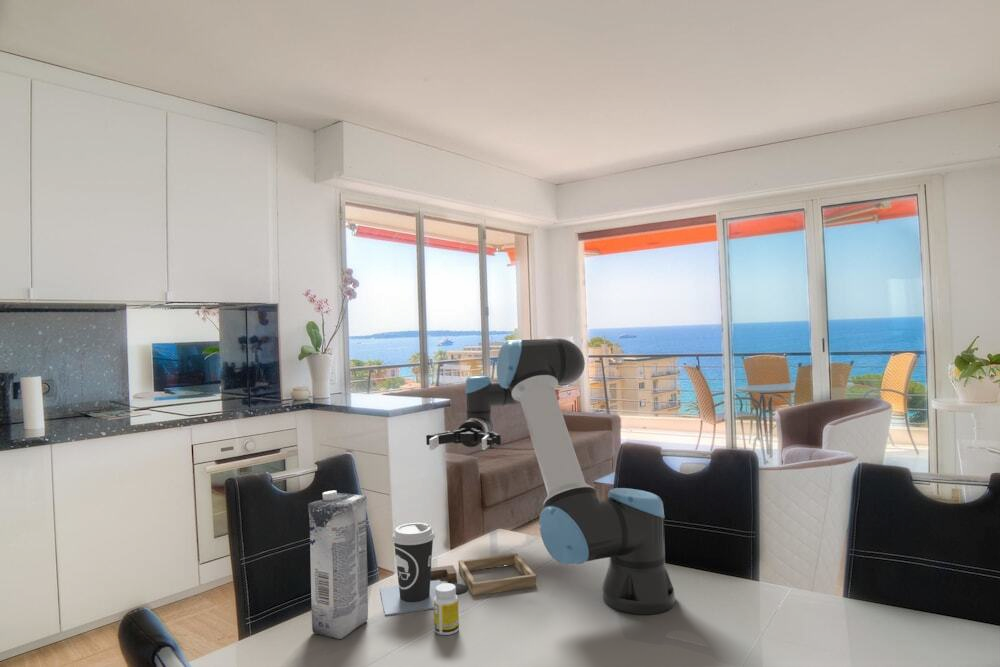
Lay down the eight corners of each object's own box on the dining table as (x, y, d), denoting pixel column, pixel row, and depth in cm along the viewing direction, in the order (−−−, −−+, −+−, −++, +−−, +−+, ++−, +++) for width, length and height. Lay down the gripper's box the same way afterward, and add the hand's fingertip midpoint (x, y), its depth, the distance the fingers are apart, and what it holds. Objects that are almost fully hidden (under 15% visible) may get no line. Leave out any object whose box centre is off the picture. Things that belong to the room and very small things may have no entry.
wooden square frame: (536, 586, 137) (536, 575, 137) (472, 595, 133) (472, 584, 133) (516, 563, 152) (516, 553, 152) (458, 571, 147) (458, 560, 148)
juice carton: (374, 619, 123) (371, 487, 123) (341, 643, 113) (338, 500, 114) (340, 612, 127) (337, 484, 127) (304, 635, 117) (301, 496, 117)
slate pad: (451, 606, 128) (451, 604, 128) (385, 615, 124) (385, 614, 124) (439, 581, 142) (439, 579, 142) (379, 589, 138) (379, 587, 138)
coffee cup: (433, 605, 128) (431, 534, 128) (389, 605, 128) (387, 535, 128) (438, 586, 138) (437, 521, 138) (397, 587, 138) (395, 522, 138)
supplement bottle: (463, 626, 119) (462, 584, 119) (451, 637, 115) (450, 593, 115) (442, 622, 121) (441, 580, 121) (429, 633, 117) (428, 589, 117)
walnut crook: (456, 581, 141) (456, 572, 141) (422, 585, 139) (422, 577, 139) (453, 573, 146) (453, 565, 146) (420, 577, 144) (420, 569, 144)
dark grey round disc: (469, 592, 135) (469, 591, 135) (448, 595, 134) (448, 594, 134) (465, 583, 140) (464, 582, 140) (443, 586, 138) (443, 585, 138)
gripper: (516, 445, 171) (505, 459, 150) (431, 445, 175) (409, 459, 154) (515, 418, 171) (505, 429, 150) (430, 419, 175) (409, 430, 154)
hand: (456, 444), depth 152 cm, fingers open, 13 cm apart
